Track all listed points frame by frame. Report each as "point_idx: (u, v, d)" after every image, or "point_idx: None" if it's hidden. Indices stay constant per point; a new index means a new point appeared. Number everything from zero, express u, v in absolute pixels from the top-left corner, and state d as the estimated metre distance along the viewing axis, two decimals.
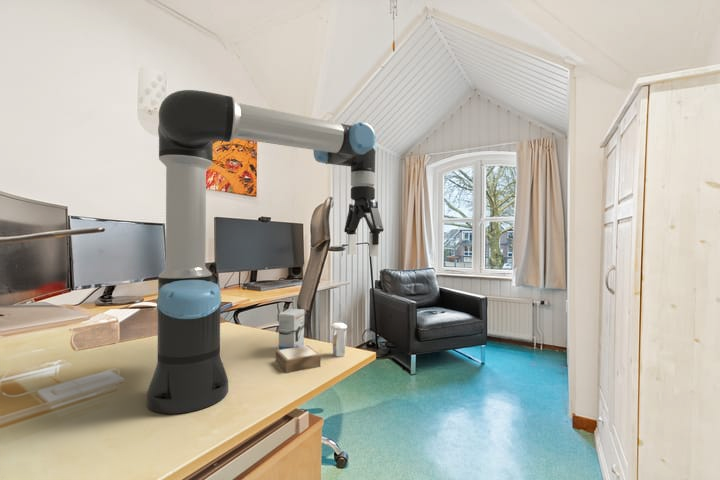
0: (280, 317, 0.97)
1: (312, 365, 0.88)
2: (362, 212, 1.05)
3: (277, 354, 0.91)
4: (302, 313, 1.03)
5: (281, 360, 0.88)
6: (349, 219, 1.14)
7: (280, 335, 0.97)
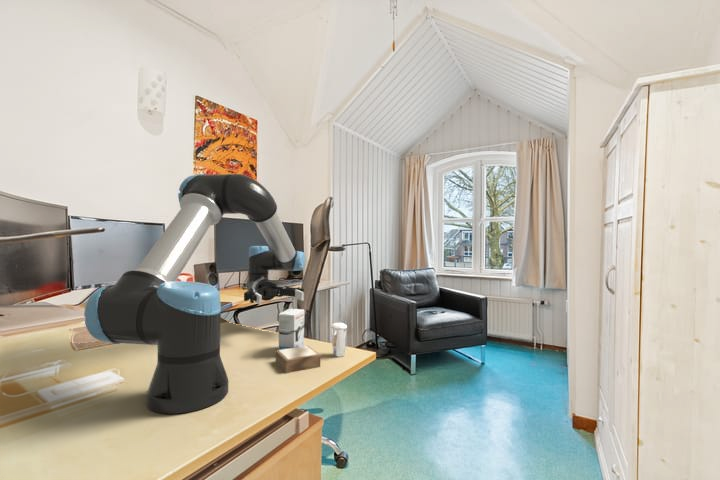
0: (280, 317, 0.97)
1: (312, 365, 0.88)
2: None
3: (277, 354, 0.91)
4: (302, 313, 1.03)
5: (281, 360, 0.88)
6: None
7: (280, 335, 0.97)
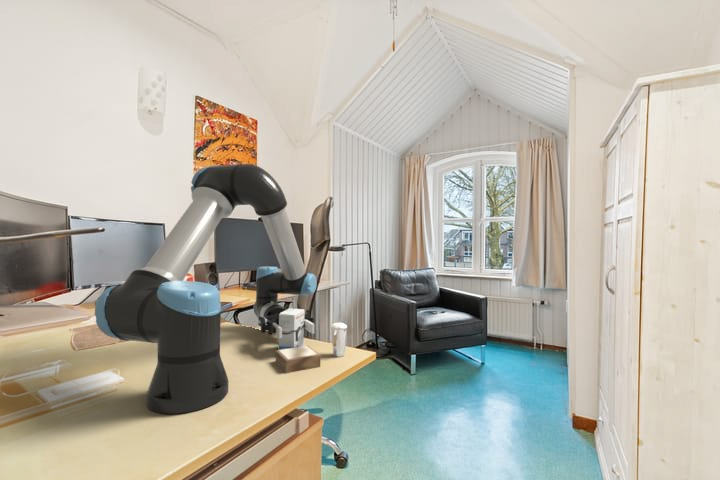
0: (280, 317, 0.97)
1: (312, 365, 0.88)
2: None
3: (277, 354, 0.91)
4: (302, 313, 1.03)
5: (281, 360, 0.88)
6: None
7: None
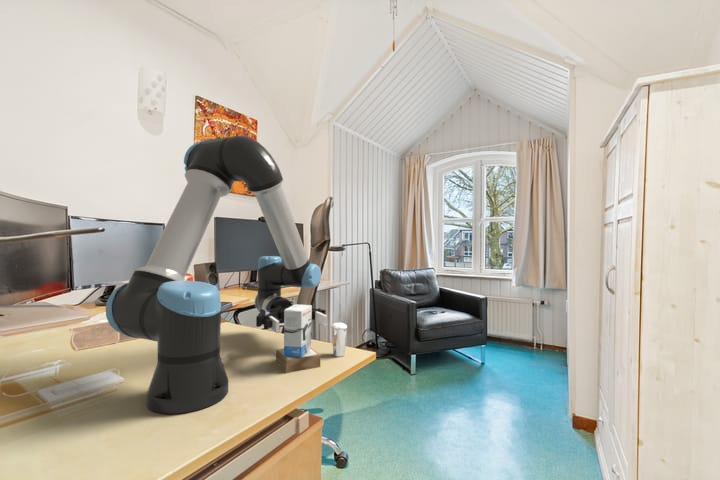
0: (286, 313, 0.87)
1: (312, 365, 0.88)
2: None
3: (277, 354, 0.91)
4: (309, 309, 0.93)
5: (281, 360, 0.88)
6: None
7: (286, 333, 0.87)
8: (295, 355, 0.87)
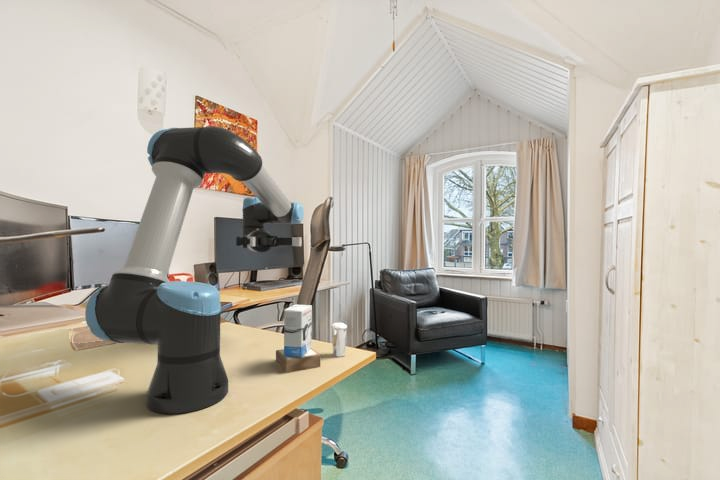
0: (286, 313, 0.87)
1: (312, 365, 0.88)
2: (256, 246, 1.10)
3: (277, 354, 0.91)
4: (309, 309, 0.93)
5: (281, 360, 0.88)
6: None
7: (286, 333, 0.87)
8: (295, 355, 0.87)
